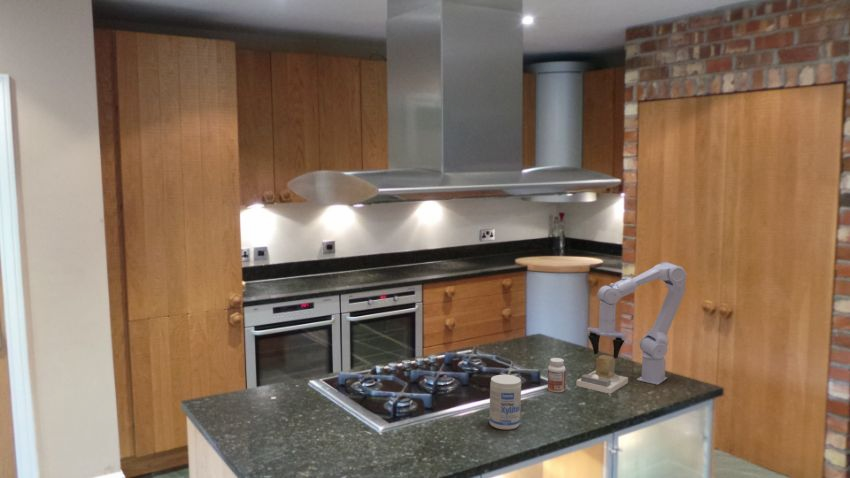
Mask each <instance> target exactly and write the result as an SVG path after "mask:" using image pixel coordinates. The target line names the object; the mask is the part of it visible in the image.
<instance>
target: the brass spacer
mask: <svg viewBox="0 0 850 478" xmlns="http://www.w3.org/2000/svg"><path fill="white" fill-rule="evenodd" d="M615 365H616V359H615V358H614V356H611V355H606V354H601V355H599V356H597V357H596V359H595V370H596V375H598V376H599V377H601V378H605V379H610V378H611V377H613V376H614V374H615V373H616V372H615V369H616V366H615Z"/></svg>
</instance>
